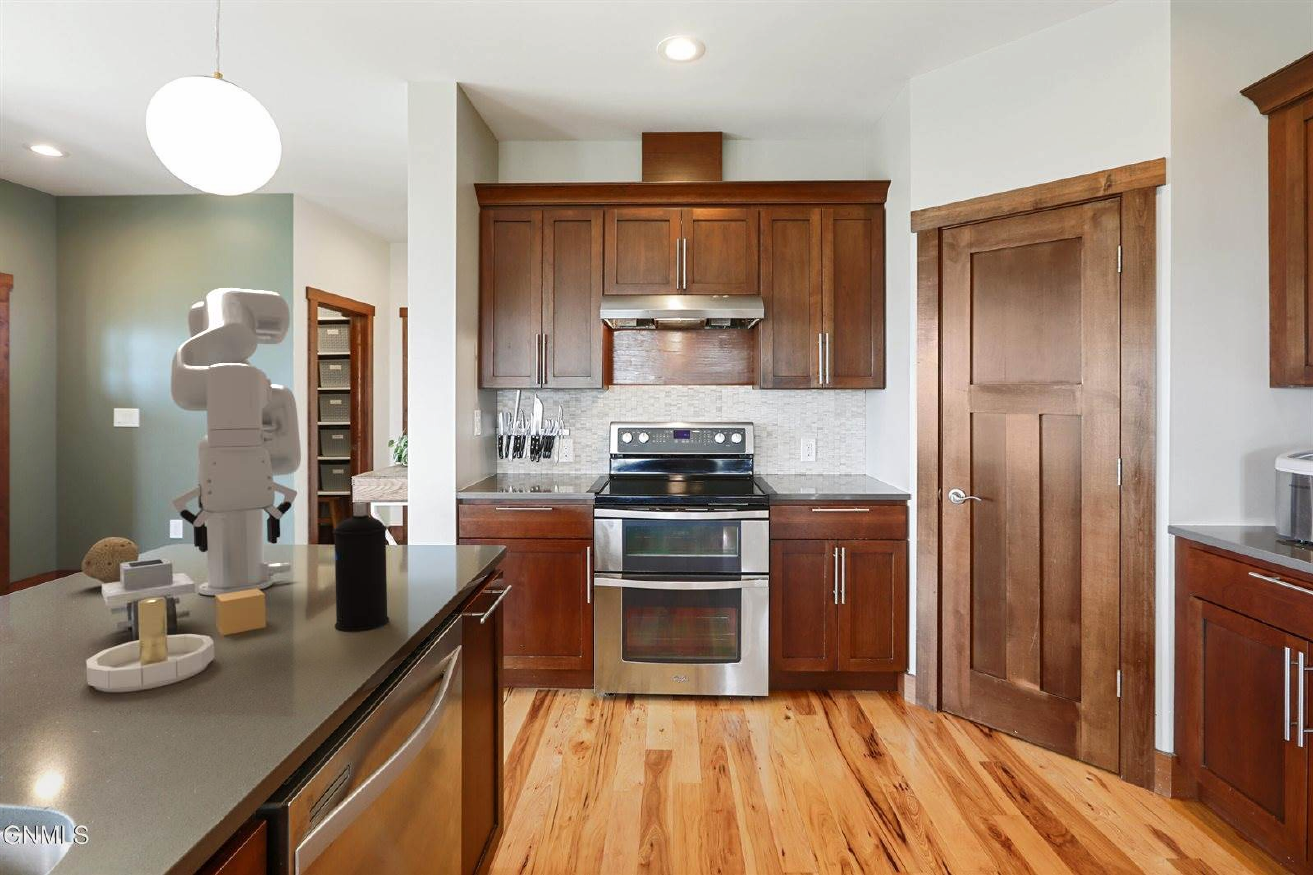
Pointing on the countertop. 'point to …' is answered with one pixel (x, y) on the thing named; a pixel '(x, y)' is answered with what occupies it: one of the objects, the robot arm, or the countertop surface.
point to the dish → (125, 674)
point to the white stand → (147, 591)
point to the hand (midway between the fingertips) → (238, 546)
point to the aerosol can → (360, 572)
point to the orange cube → (240, 611)
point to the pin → (152, 631)
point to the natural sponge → (109, 558)
